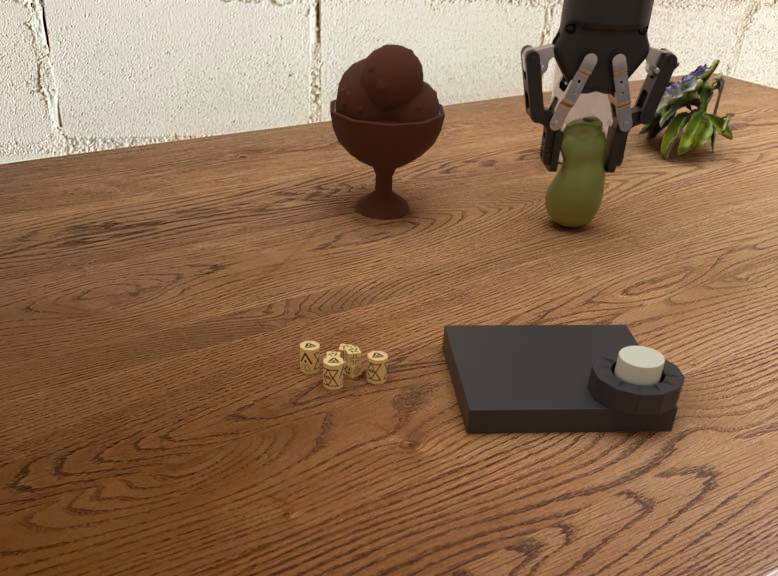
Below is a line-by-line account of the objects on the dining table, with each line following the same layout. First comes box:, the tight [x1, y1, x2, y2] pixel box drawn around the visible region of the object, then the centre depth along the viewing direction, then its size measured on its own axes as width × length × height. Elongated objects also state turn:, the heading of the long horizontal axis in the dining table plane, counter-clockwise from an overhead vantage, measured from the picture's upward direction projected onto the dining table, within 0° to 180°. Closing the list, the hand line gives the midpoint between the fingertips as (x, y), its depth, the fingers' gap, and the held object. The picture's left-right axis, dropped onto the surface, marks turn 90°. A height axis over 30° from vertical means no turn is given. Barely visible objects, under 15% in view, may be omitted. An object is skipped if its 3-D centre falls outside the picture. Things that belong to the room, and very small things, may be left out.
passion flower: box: [638, 59, 736, 161], centre depth 109 cm, size 11×11×12 cm
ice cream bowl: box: [329, 43, 446, 220], centre depth 88 cm, size 11×11×15 cm
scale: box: [442, 324, 686, 435], centre depth 65 cm, size 14×13×4 cm
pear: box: [544, 117, 606, 228], centre depth 88 cm, size 6×5×10 cm
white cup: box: [550, 59, 613, 164], centre depth 104 cm, size 8×8×10 cm
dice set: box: [299, 340, 389, 391], centre depth 66 cm, size 5×5×2 cm
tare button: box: [614, 345, 666, 386], centre depth 61 cm, size 3×3×2 cm
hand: (579, 168), depth 88 cm, fingers closed on pear, 5 cm apart
